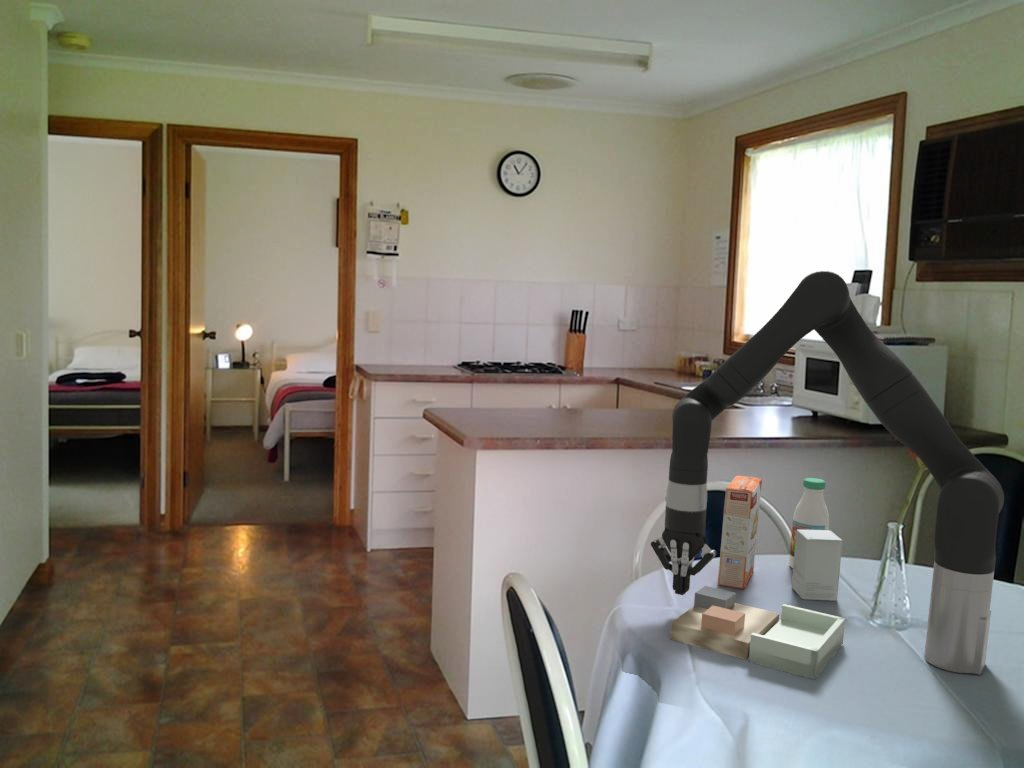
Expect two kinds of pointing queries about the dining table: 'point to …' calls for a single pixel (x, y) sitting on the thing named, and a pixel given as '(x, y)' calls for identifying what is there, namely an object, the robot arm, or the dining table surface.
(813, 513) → the milk bottle
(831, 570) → the supplement box
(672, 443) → the robot arm
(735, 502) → the cracker box
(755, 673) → the dining table surface
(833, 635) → the box
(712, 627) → the terracotta tile
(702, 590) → the slate tile
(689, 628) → the plate
